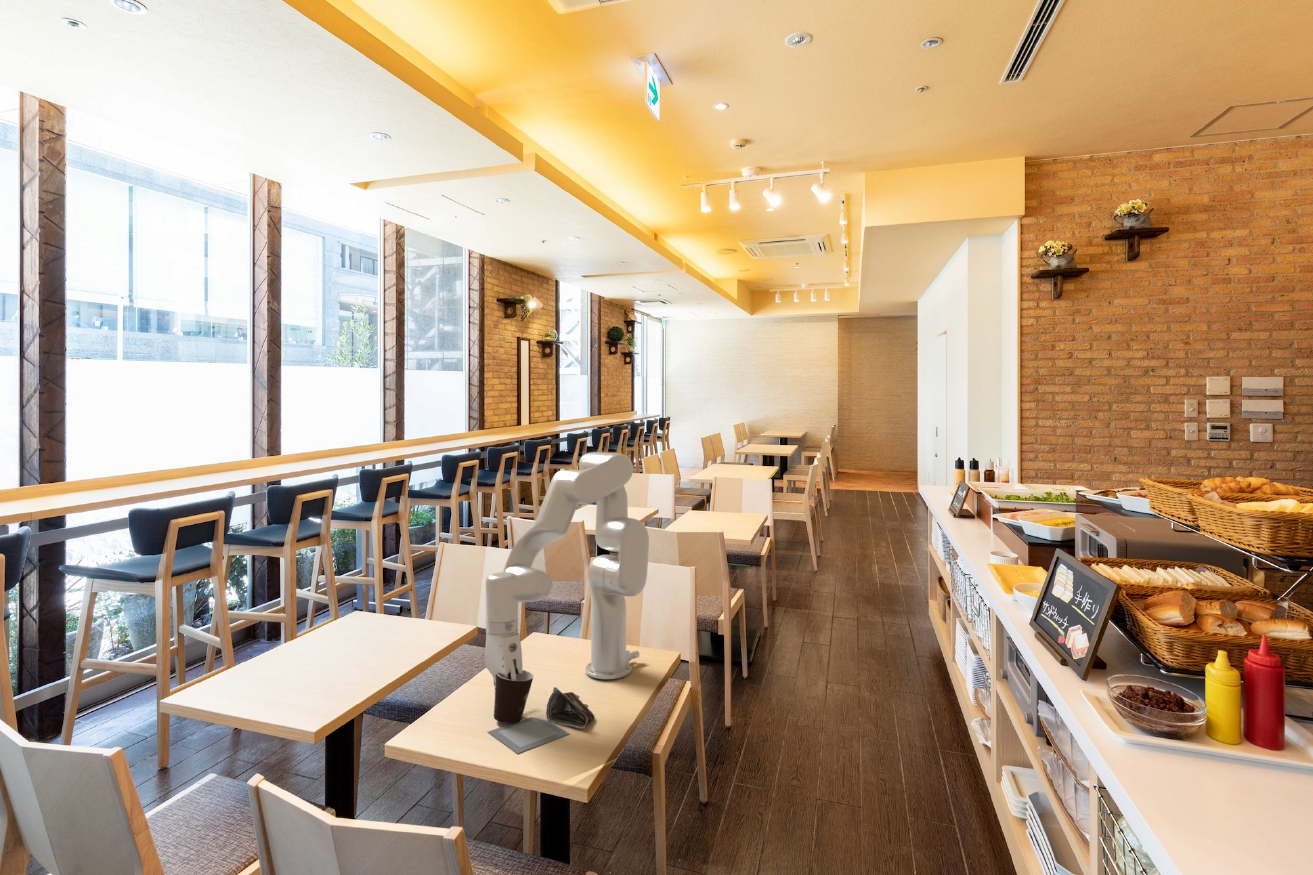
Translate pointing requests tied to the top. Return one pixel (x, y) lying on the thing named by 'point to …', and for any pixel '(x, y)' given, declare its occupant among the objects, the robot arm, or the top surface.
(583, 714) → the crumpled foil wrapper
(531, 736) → the mat
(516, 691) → the coffee mug
